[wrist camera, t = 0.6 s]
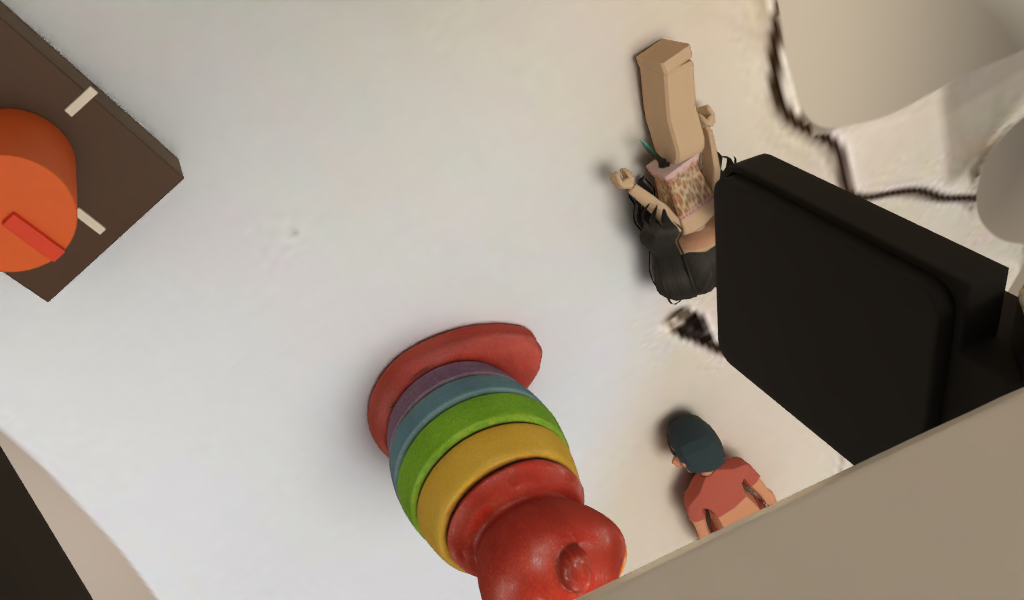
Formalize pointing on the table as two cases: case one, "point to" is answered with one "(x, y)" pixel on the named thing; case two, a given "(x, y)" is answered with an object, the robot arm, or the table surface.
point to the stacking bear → (490, 467)
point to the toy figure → (676, 175)
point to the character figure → (714, 476)
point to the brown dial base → (83, 150)
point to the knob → (34, 191)
